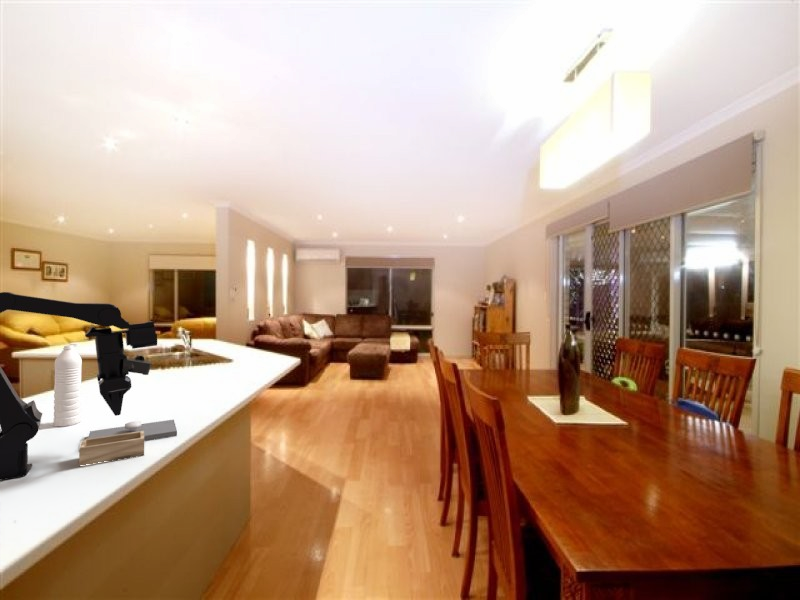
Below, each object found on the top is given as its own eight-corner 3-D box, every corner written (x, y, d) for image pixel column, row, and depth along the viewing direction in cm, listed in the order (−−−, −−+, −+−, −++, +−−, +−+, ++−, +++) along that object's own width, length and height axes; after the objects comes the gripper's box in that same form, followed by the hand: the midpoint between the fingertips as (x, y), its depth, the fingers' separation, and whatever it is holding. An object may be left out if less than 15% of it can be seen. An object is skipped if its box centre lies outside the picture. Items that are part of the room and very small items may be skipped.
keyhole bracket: (144, 455, 99) (144, 438, 99) (79, 467, 92) (79, 448, 92) (143, 446, 105) (144, 430, 105) (82, 457, 97) (82, 439, 97)
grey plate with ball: (176, 435, 113) (177, 423, 113) (85, 450, 101) (85, 436, 101) (173, 424, 123) (173, 412, 123) (90, 436, 111) (90, 423, 111)
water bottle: (75, 425, 119) (76, 345, 119) (49, 427, 117) (50, 346, 117) (87, 417, 128) (88, 342, 127) (62, 419, 125) (64, 342, 125)
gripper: (152, 351, 97) (158, 411, 98) (143, 343, 111) (148, 395, 112) (96, 359, 90) (103, 423, 91) (94, 349, 104) (100, 405, 105)
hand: (116, 410), depth 100 cm, fingers open, 9 cm apart
